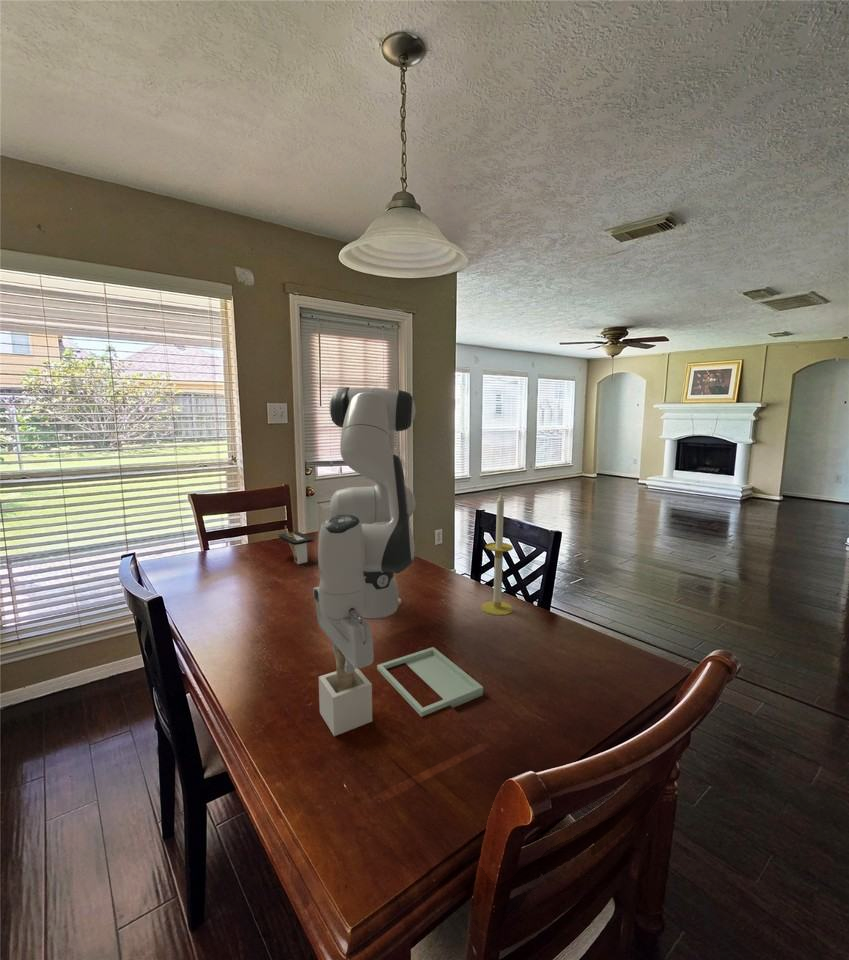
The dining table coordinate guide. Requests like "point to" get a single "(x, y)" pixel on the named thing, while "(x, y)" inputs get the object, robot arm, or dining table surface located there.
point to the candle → (498, 566)
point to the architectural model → (297, 544)
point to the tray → (435, 680)
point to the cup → (345, 702)
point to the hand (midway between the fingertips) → (344, 666)
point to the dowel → (342, 674)
